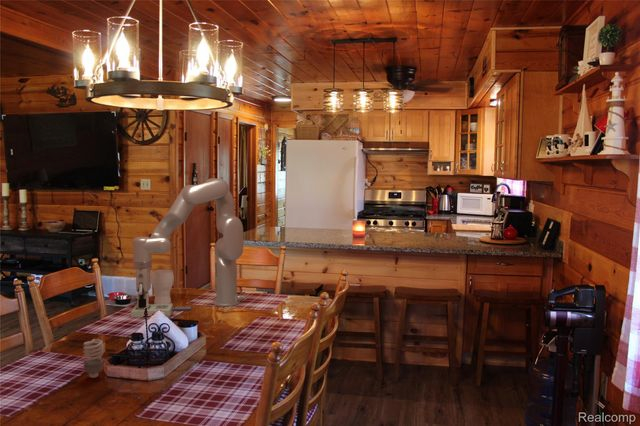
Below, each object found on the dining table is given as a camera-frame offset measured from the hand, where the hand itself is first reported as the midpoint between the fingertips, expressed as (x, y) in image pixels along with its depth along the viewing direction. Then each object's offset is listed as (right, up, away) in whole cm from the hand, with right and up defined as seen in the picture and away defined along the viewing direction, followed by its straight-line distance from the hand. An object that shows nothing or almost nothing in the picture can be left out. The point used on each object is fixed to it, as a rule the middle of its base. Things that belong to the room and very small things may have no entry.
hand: (143, 305), depth 228 cm
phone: (+15, -3, +8) cm, 18 cm away
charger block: (0, -1, 0) cm, 1 cm away
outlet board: (+4, -3, +1) cm, 5 cm away
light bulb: (+9, -9, -71) cm, 72 cm away
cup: (+3, -2, +19) cm, 19 cm away
